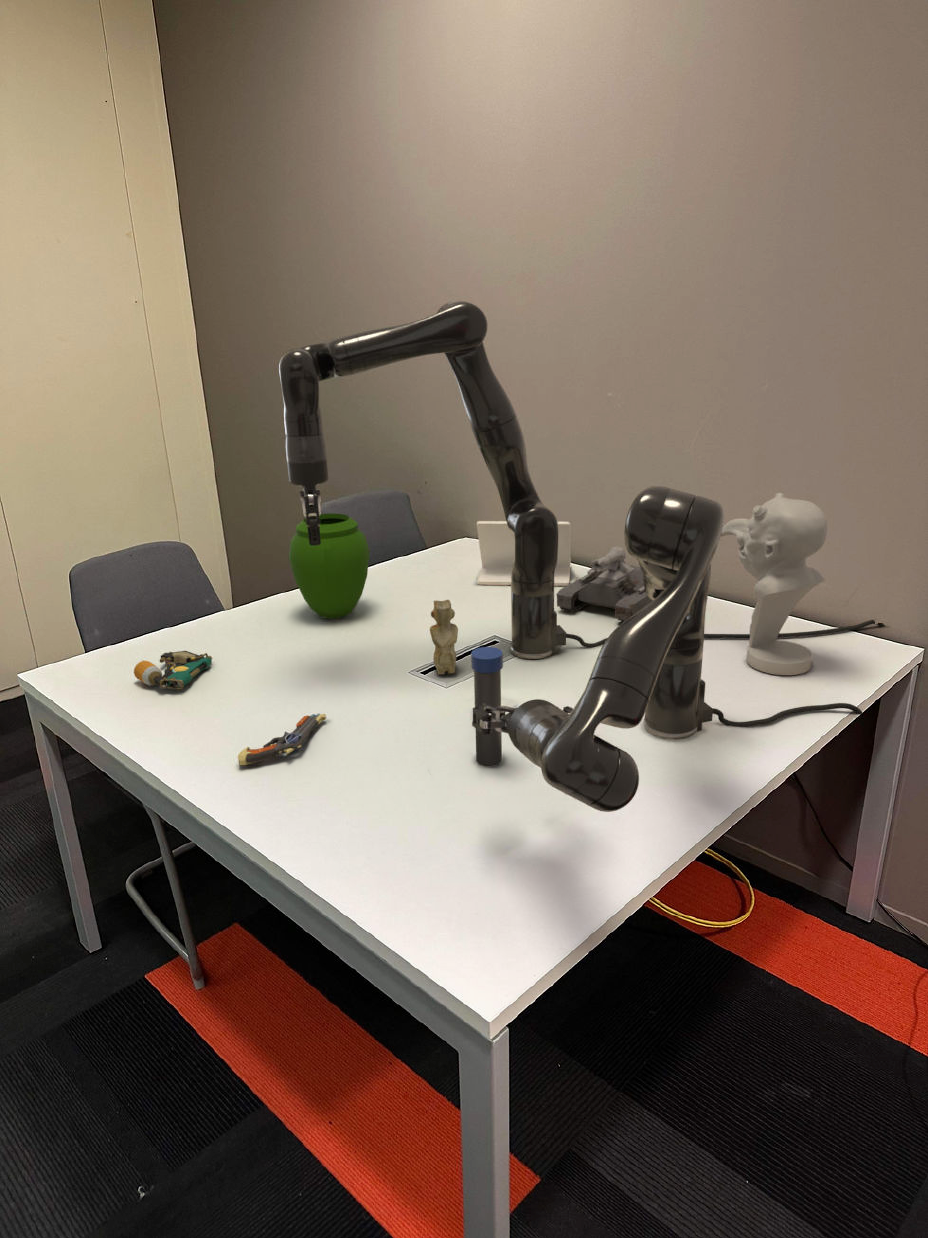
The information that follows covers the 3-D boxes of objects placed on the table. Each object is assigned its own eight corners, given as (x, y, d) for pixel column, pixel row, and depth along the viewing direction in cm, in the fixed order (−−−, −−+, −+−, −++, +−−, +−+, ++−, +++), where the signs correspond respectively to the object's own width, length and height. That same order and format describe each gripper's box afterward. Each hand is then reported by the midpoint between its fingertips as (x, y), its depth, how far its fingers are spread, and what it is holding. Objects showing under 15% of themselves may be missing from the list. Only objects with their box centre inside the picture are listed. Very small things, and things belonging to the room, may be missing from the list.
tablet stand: (569, 585, 229) (570, 524, 223) (476, 584, 232) (475, 523, 226) (570, 566, 246) (571, 508, 240) (484, 564, 249) (483, 507, 243)
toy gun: (232, 755, 143) (287, 753, 141) (276, 711, 161) (326, 708, 159) (235, 770, 144) (291, 767, 142) (279, 724, 162) (329, 722, 160)
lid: (487, 657, 142) (486, 644, 141) (509, 666, 138) (509, 652, 137) (465, 667, 139) (464, 653, 138) (487, 675, 135) (486, 661, 134)
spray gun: (177, 659, 191) (231, 671, 185) (120, 684, 176) (176, 698, 171) (176, 641, 190) (230, 653, 184) (118, 665, 175) (174, 678, 169)
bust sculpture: (745, 630, 196) (760, 478, 183) (832, 666, 176) (855, 499, 163) (692, 644, 189) (703, 487, 176) (776, 683, 169) (796, 510, 156)
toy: (603, 584, 229) (605, 530, 224) (673, 597, 218) (677, 540, 213) (555, 612, 210) (556, 553, 205) (630, 627, 199) (633, 566, 194)
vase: (389, 608, 216) (383, 514, 208) (339, 633, 201) (330, 533, 192) (330, 596, 226) (322, 506, 218) (278, 619, 211) (267, 523, 202)
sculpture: (458, 662, 183) (456, 596, 178) (460, 676, 176) (457, 608, 171) (431, 663, 183) (428, 597, 177) (431, 677, 176) (428, 609, 171)
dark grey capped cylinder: (489, 751, 147) (486, 648, 141) (507, 759, 144) (506, 655, 138) (471, 760, 145) (467, 655, 138) (489, 769, 142) (486, 663, 135)
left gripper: (328, 462, 158) (335, 547, 164) (324, 450, 171) (331, 529, 177) (287, 465, 157) (295, 550, 162) (286, 452, 170) (294, 532, 176)
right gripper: (600, 705, 109) (561, 683, 125) (491, 705, 106) (465, 683, 122) (597, 762, 109) (559, 734, 125) (489, 765, 107) (464, 735, 122)
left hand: (314, 539), depth 170 cm, fingers open, 8 cm apart
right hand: (513, 709), depth 124 cm, fingers open, 8 cm apart
